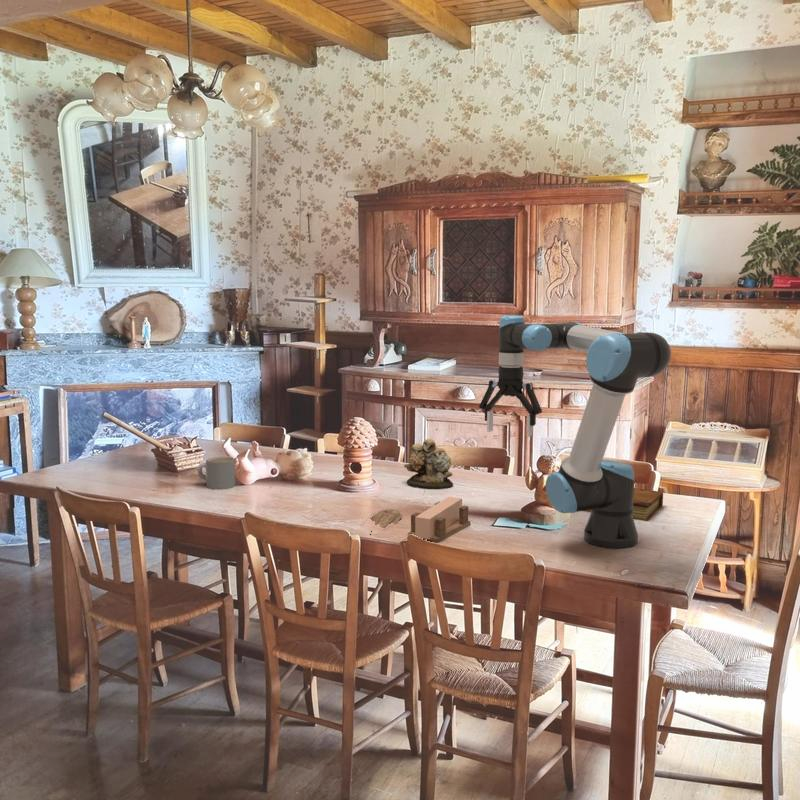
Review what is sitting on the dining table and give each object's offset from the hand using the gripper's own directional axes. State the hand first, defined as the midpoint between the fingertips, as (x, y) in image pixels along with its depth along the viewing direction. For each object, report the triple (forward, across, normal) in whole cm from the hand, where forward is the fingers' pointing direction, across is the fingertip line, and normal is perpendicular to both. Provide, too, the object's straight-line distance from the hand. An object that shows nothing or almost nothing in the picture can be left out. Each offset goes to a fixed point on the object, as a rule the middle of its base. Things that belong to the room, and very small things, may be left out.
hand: (509, 433), depth 261 cm
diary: (+27, -27, -28) cm, 48 cm away
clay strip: (+26, +11, +24) cm, 37 cm away
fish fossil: (+27, +31, +27) cm, 49 cm away
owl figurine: (+27, +41, -20) cm, 53 cm away
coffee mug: (+27, +105, +22) cm, 111 cm away
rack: (+27, +11, +24) cm, 38 cm away
